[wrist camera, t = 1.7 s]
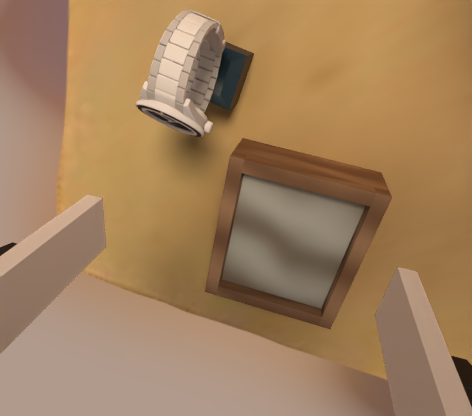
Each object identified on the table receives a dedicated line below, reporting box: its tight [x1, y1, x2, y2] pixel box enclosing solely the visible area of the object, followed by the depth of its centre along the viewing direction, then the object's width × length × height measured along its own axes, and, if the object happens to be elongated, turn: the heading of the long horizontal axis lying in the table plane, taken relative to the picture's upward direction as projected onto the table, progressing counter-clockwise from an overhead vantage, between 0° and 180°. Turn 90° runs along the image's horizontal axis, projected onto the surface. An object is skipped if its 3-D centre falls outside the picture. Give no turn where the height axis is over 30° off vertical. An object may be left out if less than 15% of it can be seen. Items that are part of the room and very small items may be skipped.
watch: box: [136, 10, 254, 137], centre depth 25 cm, size 6×8×11 cm
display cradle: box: [205, 138, 392, 329], centre depth 33 cm, size 15×13×5 cm
